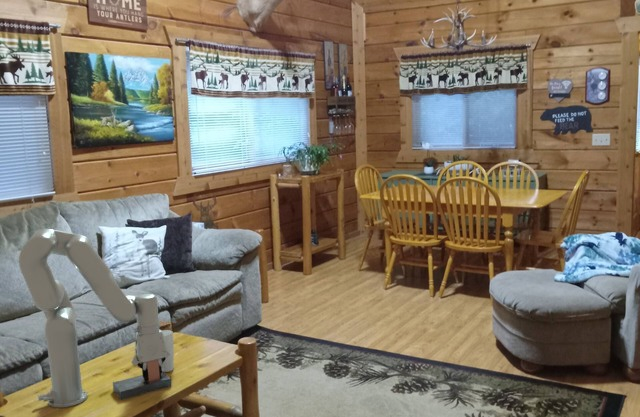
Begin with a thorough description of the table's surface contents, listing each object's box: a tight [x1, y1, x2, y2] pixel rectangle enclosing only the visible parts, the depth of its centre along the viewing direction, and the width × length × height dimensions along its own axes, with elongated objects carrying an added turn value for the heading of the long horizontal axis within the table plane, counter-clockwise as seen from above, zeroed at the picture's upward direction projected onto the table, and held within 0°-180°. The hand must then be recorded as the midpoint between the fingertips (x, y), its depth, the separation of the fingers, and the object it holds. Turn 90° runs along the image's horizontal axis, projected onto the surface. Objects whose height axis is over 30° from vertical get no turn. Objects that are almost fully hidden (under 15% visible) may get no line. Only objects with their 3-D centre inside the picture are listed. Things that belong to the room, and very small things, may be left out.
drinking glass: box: [161, 329, 175, 373], centre depth 240 cm, size 7×7×15 cm
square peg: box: [146, 360, 160, 382], centre depth 226 cm, size 4×4×9 cm
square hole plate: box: [112, 371, 172, 401], centre depth 225 cm, size 18×10×3 cm, turn 123°
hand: (152, 376), depth 227 cm, fingers closed on square peg, 3 cm apart
